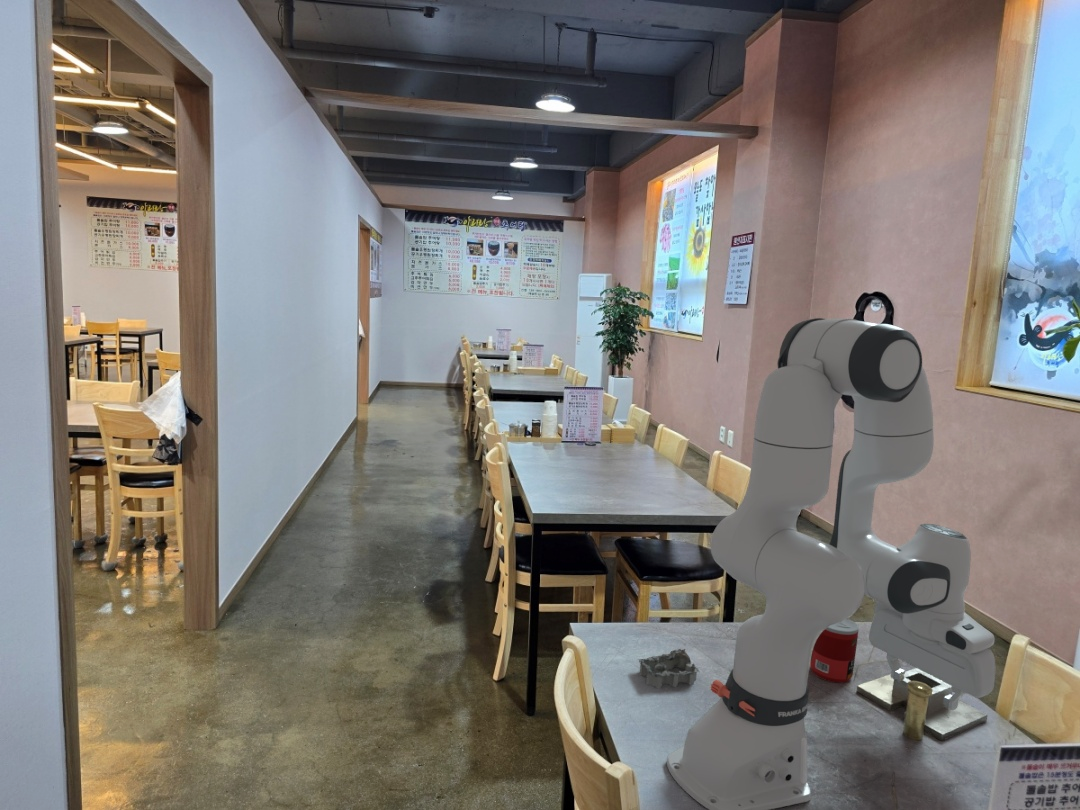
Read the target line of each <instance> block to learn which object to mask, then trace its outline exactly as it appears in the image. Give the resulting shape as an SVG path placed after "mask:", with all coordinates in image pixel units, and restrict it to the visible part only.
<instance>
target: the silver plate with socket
mask: <svg viewBox="0 0 1080 810" xmlns="http://www.w3.org/2000/svg"><path fill="white" fill-rule="evenodd" d="M909 681H918V682H922V683H924V684H927V685H928V686H930V687H931V688H932V690H933V691H932V696H931V697H929V699H928V705H927V712H926V719H925V725H924V732H926V733H927V734H929V735H931V736H932V737H934V738H936V739H937V740H939V741H941V742H942V741H944V740H947V739H950V738H951V737H954V736H955V735H958V734H960V733H963V732H965V731H967V730H969V729H971V728H973V727H976V726H978V725H981V724H983V723H985V722H987V721H988V713H985V712H983V711H981V710H979V709H977V708H975V707H973V706H972V705H970V704H968V703H967V702H964V701H962V700H960V699H959V700H958V706H957V708H956V709H955V710H953V711H952V710H950V709H948V708H947V707H945V706H943V703H944V701H943V699H944V697H945V696H948V695H949V694H950V695H953V692H952V686H951V685H949V684H947V683H945V682H943V681H941V680H939V679H937V678H935V677H933V676H931V675H929V674H927V673H925V672H923V671H921V670H920V669H918V668H916V667H914V668H912V669H909V670H907V671H906V670H905V674H904V680H903V681H900V682H898V681H896V680H894V679H892V678H891V673H890V674H886V675H885V676H881V677H878V678H875V679H873V680H870V681H869V680H868V681H866V682H863V683H861V684H858V685H857V687H856V692H857V693H859V694H861V695H862V696H864V697H866V698H867V699H869V700H871V701H873V702H874V703H876V704H878V705H879V706H881V707H882V708H884V709H886V710H888V711H890V712H892V711H894V710H896V709H899V708H901V707H902V708H904V709H905V710H906V709H907V702H908V695H909V691H908V690H907V684H908V682H909ZM905 716H906V711H905V712H904V713H903V719H904V720H905Z"/></svg>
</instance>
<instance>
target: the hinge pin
mask: <svg viewBox="0 0 1080 810" xmlns="http://www.w3.org/2000/svg"><path fill="white" fill-rule="evenodd" d="M907 690H908V691H909V695H908V702H907V709H906V708H905V712H906V716H905V719H904V724H903V731H902V732H903V735H905V737H907V738H909V739H911V740H915V741H921V740H923V738H924V732H925V731H924V725H925V719H926V712H927V705H928V699H929V697H931V696H932V691H933V690H932V688H931V687H930V686H928V685H927V684H924V683H922V682H918V681H909V682H908V684H907Z"/></svg>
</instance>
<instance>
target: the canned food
mask: <svg viewBox="0 0 1080 810" xmlns="http://www.w3.org/2000/svg"><path fill="white" fill-rule="evenodd" d="M859 630H860V629H859V625H858V623H856V622H855V621H853V620H852V619H850V618H848V619H846V620H844V621H842V622H840V623H836V624H833V625H830V626H829V627H827V628H826V629H825V630H824V631H823V632H822V633H821V634H820V635H819V637H818V639H817V640H816V643H815V645H814V648H813V651H812V656H811V661H810V669H811V672H812V673H813V674H814V675H815V676H817V677H818V678H820V679H822V680H824V681H828V682H832V683H837V684H841V683H843V684H844V683H848V682H849V681H851V679H852V677H853V675H854V669H855V668H854V667H855V661H856V655H857V654H856V652H857V644H858V638H859Z"/></svg>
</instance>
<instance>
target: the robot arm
mask: <svg viewBox="0 0 1080 810" xmlns="http://www.w3.org/2000/svg"><path fill="white" fill-rule="evenodd" d="M843 395H844V396H849V397H850V396H851V397H852V401H854V402H853V441H852V446H851V448H850V449H849V450H847V452H846V453H845V454H844V456H843V459H842V461H841V464H840V468H839V472H838V473H839V474H838V480H837V481H838V482H837V489H836V490H837V492H836V498H835V499H836V501H835V510H834V512H835V513H834V521H833V523H834V524H833V530H832V535H831V539H830V542H829V543H827V542H824V541H822V540H820V539H817V538H814V537H812V536H809V535H807V534H805V533H803V532H800V531H798V528H797V522H798V517H799V515H800V513H801V510H805V509H808V508H811V507H813V506H815V505H817V504H819V503H820V502H821V501H822V500H823V499H824V498H825V497H826V496H827V494H828V492H829V488H830V487H829V486H830V478H831V468H832V466H831V465H832V456H833V446H834V435H835V434H834V432H835V431H834V429H835V428H834V427H835V426H834V424H835V419H834V418H835V414H834V413H835V409H836V407H837V404H838V403H839V401H840V399H841V398H842V396H843ZM758 400H759V401H758V405H757V410H756V415H755V416H756V417H755V424H754V431H753V445H752V453H751V454H752V455H751V465H750V472H749V480H748V484H747V485H748V486H747V488H746V491H745V495H744V496H743V499H742V501H741V503H740V504H739V506H738V507H737V508H736V510H735V511H733V512H732V513H730V514H729V515H727V516H725V517H723V519H722V520H720V522H719V523H718V524H717V525H716V527H715V529H714V531H713V533H712V534H711V535H712V536H711V540H710V553H711V556H712V558H713V560H714V561H715V563H716V564H717V565H718V566H719V567H720V568H721V569H723V571H724V572H726V573H727V574H728V575H729V576H730V577H732V578H733V579H734V580H736V581H737V582H739V583H742V584H743V585H745V586H747V587H749V588H751V589H753V590H754V591H756V592H759V593H760V594H762V595H764V597H765V602H766V605H765V611H764V612H763V614H758V615H757V614H756V615H754V616H751V617H749V618H748V619H746V620H745V621H744V622H743V623H742V624H741V625H740V626H739V627H738V629H737V632H736V636H735V637H736V638H735V648H734V658H733V666H732V667H733V668H732V669H731V671H730V673H729V675H728V677H727V680H726V682H725V684H723V682H721V680H718V679H715V680H713V682H712V683H711V686H710V691H711V692H712V693H714V694H715V695H717V696H718V697H719V699H718V700H717V701H716V702H715V703H714V704H713V705H712V706H711V707H710V708H709V709H708V710H707V711H706V712H705V713H704V714H703V715H702V716H701V717H700V718H699V719H698V720H697V721H696V722H695V723H694V724H693V725H692V726H691V727H690V728H689V729H688V732H687V734H686V737H685V739H684V745H682V746H681V747H679V748H678V749H676V750H674V751H673V752H671V753H669V754H668V756H667V758H666V766H667V769H668V771H669V773H670V775H671V776H672V778H673V779H674V780H675V782H677V784H678V785H679V786H680V787H681V788H682V790H683V791H684V792H686V793H687V794H688V795H689V796H691V798H693V799H694V801H696V802H698V803H699V804H700V805H701V806H703V807H705V808H706V809H708V810H774V809H778V808H783V807H784V808H785V807H786V806H787V807H789V806H792V805H793V806H794V805H798V804H803V803H806V802H807V803H808V802H809V801H810V800H811V796H812V795H811V794H812V793H811V788H810V786H809V784H808V739H807V734H806V728H805V727H806V726H805V717H806V716H807V713H808V707H809V704H810V699H809V695H810V694H809V693H810V692H809V691H810V690H809V687H808V679H809V671H810V668H811V666H810V662H811V656H812V651H813V648H814V645H815V643H816V640H817V639H818V637H819V635H820V634H821V633H822V632H823V631H824V630H825V629H826V628H827V627H829V626H830V625H833V624H836V623H840V622H842V621H844V620H846V619H850V617H852V616H853V615H854V614H855V613H856V612H857V611H858V610H859V608H860V607H861V605H862V602H863V601H864V597H865V596H867V597H868V598H870V599H872V600H874V601H875V603H874V609H873V610H874V612H873V614H874V616H873V619H872V621H871V624H870V629H869V633H868V639H869V642H870V645H871V646H873V647H875V648H877V649H878V650H880V651H883V652H884V653H886V660H887V662H888V665H889V668H890V670H891V672H890V674H891V678H892V679H894V680H896V681H898V682H900V681H903V680H904V674H905V672H906V670H905V669H902V668H901V664H900V661H902V662H904V663H905V664H908V665H910V666H911V667H913V668H918V669H920V670H921V671H923V672H925V673H927V674H929V675H931V676H933V677H935V678H937V679H939V680H941V681H943V682H945V683H947V684H949V685H951V686H952V693H954V694H952V695H950V694H949V695H948V696H945V697H944V699H943V701H944V703H943V706H945V707H947V708H948V709H950V710H952V711H953V710H955V709H956V708H957V706H958V700H960V699H961V698H962V697H964V696H965V695H966V694H967V695H969V696H971V697H973V698H975V699H979V698H983V697H985V696H988V695H989V694H990V693H992V692H993V690H994V687H995V680H996V659H995V655H994V653H993V651H992V650H991V649H990V648H991V647H992V646H993V645H994V644H995V638H996V637H995V636H994V634H993V633H992V632H991V631H990V630H988V629H987V628H985V627H984V626H983V625H981V624H980V623H979V622H978V621H976V620H975V619H974V618H972V617H971V616H970V615H969V614H967V613H966V612H965V611H966V604H965V599H964V598H965V592H966V590H967V588H968V586H969V581H970V572H971V562H972V561H971V560H972V559H971V545H970V541H969V539H968V538H967V537H966V536H965V535H964V534H963V533H961V532H959V531H956V530H954V529H951V528H949V527H944V526H941V525H937V524H933V523H921V524H918V526H917V528H916V531H915V535H914V536H913V537H912V538H911V539H910V540H908V541H907V542H906V543H903V544H901V545H899V546H896V545H893V544H891V543H888V542H886V541H884V540H882V539H881V538H880V537H878V536H877V535H876V533H875V532H874V530H873V528H872V520H873V519H872V518H873V512H874V511H873V510H874V502H875V496H876V495H875V493H876V490H877V488H878V486H879V485H883V484H885V485H886V484H890V483H891V484H892V483H897V482H900V481H903V480H907V479H909V478H913V477H914V476H916V475H918V474H919V473H920V472H922V471H924V469H925V468H926V467H927V465H928V464H929V463H930V461H931V459H932V457H933V451H934V441H935V440H934V414H933V413H934V412H933V404H932V402H933V401H932V397H931V391H930V386H929V381H928V378H927V374H926V371H925V369H924V367H923V356H922V351H921V348H920V345H919V343H918V340H917V339H916V338H915V337H914V336H913V334H912V333H911V332H909V331H907V330H906V329H904V328H901V327H899V326H896V325H892V324H888V323H874V322H870V321H869V322H867V321H862V320H857V319H854V318H826V319H825V318H823V317H821V318H820V317H819V318H818V317H817V318H816V317H815V318H810V319H806V320H803V321H800V322H798V323H796V324H794V325H793V326H792V327H790V329H789V330H788V331H787V332H786V334H785V336H784V338H783V340H782V343H781V346H780V349H779V355H778V359H777V369H775V370H772V371H771V372H770V373H769V374H768V375H767V377H766V378H765V381H764V383H763V385H762V389H761V393H760V397H759V399H758Z"/></svg>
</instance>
